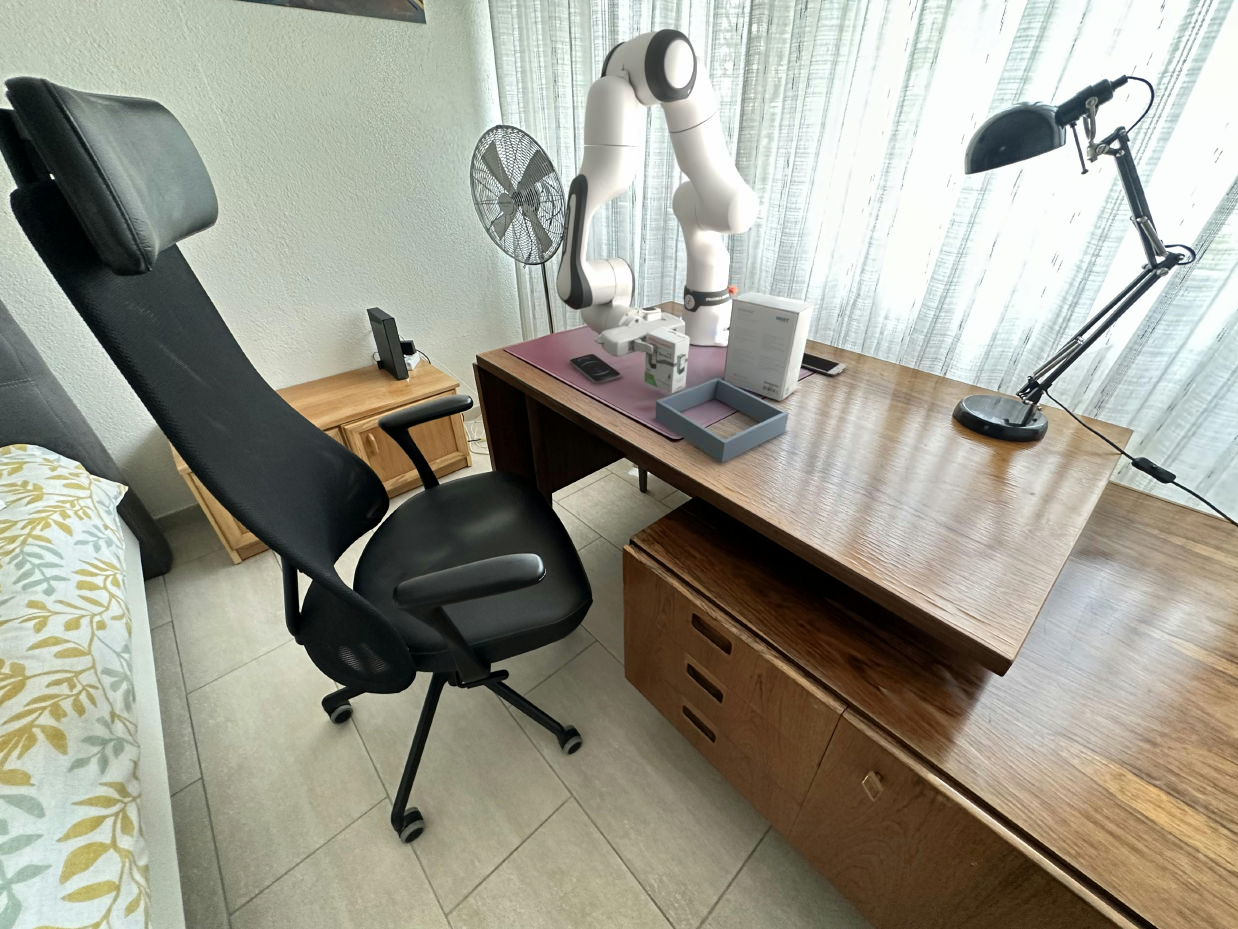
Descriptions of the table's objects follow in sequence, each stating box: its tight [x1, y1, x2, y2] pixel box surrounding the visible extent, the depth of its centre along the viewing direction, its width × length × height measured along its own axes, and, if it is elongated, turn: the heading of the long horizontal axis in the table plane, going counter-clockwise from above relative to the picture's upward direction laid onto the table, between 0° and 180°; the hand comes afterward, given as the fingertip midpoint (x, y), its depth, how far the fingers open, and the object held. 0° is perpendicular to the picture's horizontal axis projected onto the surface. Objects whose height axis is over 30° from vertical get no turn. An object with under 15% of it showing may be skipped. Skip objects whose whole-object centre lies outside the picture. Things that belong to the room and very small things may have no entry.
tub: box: [655, 377, 790, 464], centre depth 96 cm, size 18×20×4 cm
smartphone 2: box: [800, 351, 847, 377], centre depth 120 cm, size 7×15×1 cm, turn 43°
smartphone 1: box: [569, 353, 621, 385], centre depth 120 cm, size 8×1×15 cm
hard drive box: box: [722, 290, 815, 402], centre depth 105 cm, size 16×8×20 cm, turn 47°
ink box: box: [644, 327, 690, 395], centre depth 102 cm, size 9×5×12 cm, turn 43°
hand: (666, 346), depth 100 cm, fingers closed on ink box, 5 cm apart
